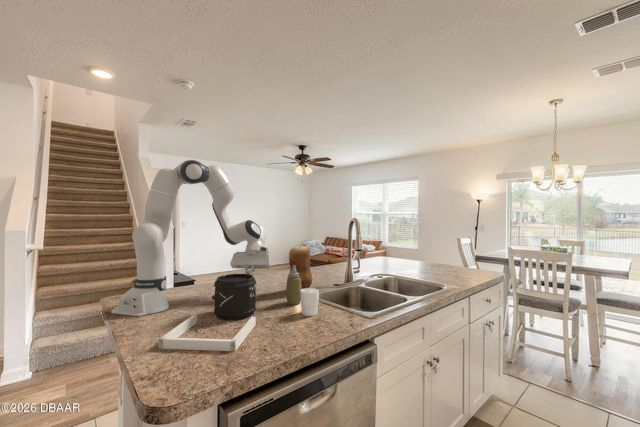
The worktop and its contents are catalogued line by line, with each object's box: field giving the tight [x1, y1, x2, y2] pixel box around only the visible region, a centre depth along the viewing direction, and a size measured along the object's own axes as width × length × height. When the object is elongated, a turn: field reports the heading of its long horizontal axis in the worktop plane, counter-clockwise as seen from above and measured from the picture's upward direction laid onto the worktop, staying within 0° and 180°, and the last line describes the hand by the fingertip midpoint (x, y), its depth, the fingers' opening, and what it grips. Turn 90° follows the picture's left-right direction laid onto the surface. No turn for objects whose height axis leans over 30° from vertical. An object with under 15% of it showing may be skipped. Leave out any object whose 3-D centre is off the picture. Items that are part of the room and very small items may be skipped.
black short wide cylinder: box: [211, 273, 257, 321], centre depth 128 cm, size 18×18×16 cm
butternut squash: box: [286, 245, 313, 289], centre depth 164 cm, size 14×13×25 cm
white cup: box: [300, 287, 320, 317], centre depth 129 cm, size 8×8×10 cm
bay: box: [158, 314, 257, 352], centre depth 106 cm, size 25×22×3 cm
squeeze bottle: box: [285, 265, 302, 306], centre depth 143 cm, size 8×8×18 cm
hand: (248, 274), depth 147 cm, fingers closed
